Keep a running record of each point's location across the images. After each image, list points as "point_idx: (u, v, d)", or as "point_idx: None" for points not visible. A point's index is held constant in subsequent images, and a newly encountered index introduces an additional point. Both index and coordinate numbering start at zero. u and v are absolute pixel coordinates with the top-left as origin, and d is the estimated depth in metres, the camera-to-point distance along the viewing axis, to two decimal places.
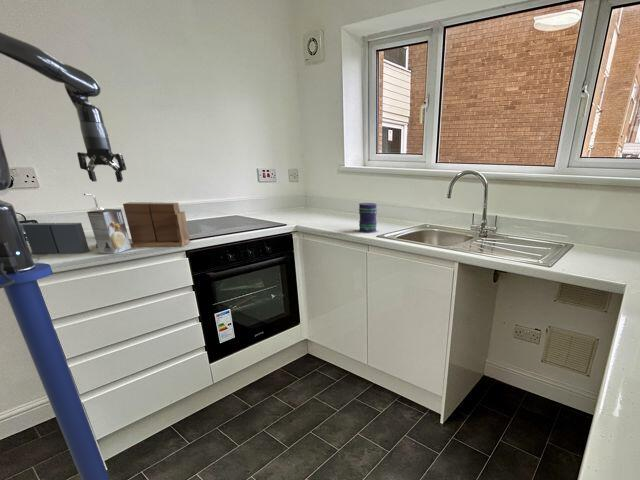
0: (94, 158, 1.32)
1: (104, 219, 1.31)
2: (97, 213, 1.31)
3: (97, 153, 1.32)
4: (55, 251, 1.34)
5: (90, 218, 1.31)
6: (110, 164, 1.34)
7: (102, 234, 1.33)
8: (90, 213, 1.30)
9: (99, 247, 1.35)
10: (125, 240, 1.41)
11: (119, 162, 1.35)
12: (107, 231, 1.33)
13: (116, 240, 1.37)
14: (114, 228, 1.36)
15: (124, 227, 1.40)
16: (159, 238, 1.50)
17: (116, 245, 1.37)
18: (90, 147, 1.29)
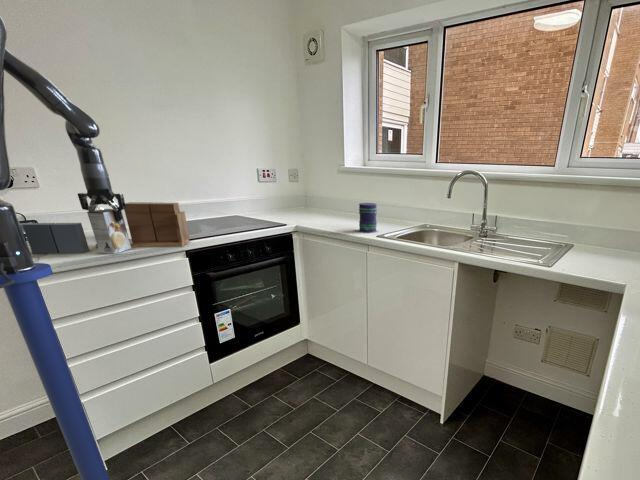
0: (94, 198, 1.31)
1: (104, 219, 1.31)
2: (97, 213, 1.31)
3: (97, 193, 1.31)
4: (55, 251, 1.34)
5: (90, 218, 1.31)
6: (110, 204, 1.33)
7: (102, 234, 1.33)
8: (90, 213, 1.31)
9: (99, 247, 1.35)
10: (125, 240, 1.41)
11: (119, 202, 1.34)
12: (107, 231, 1.33)
13: (116, 240, 1.37)
14: (114, 228, 1.36)
15: (124, 227, 1.40)
16: (159, 238, 1.50)
17: (116, 245, 1.37)
18: (90, 188, 1.28)
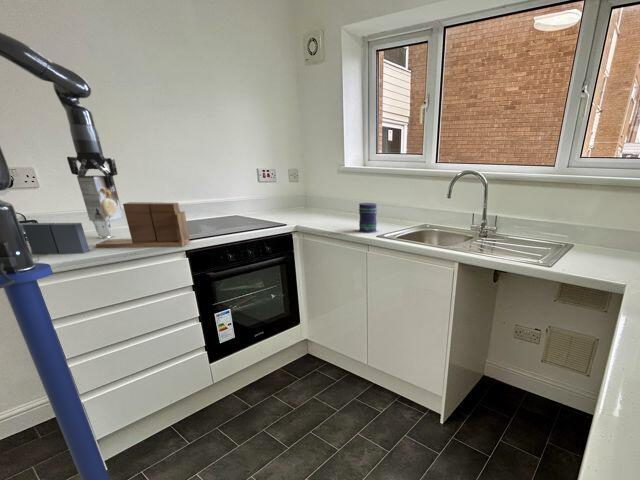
0: (84, 162, 1.26)
1: (94, 183, 1.27)
2: (87, 177, 1.26)
3: (88, 157, 1.27)
4: (55, 251, 1.34)
5: (80, 183, 1.27)
6: (101, 169, 1.28)
7: (93, 200, 1.29)
8: (80, 177, 1.26)
9: (89, 214, 1.31)
10: (116, 208, 1.36)
11: (110, 167, 1.29)
12: (97, 196, 1.28)
13: (107, 207, 1.32)
14: (105, 194, 1.31)
15: (116, 195, 1.36)
16: (159, 238, 1.50)
17: (107, 212, 1.32)
18: (80, 150, 1.23)
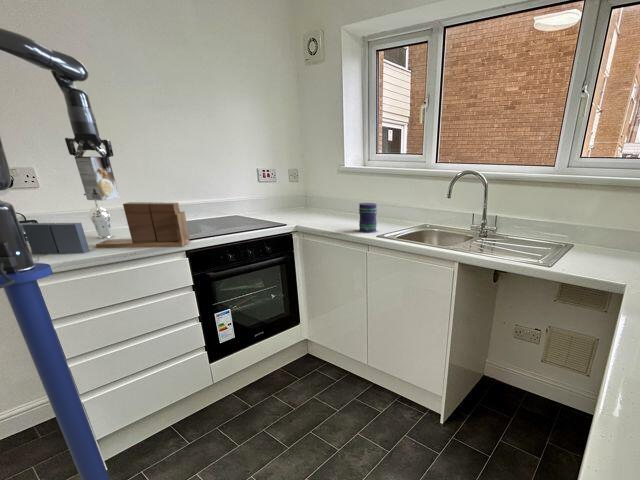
0: (82, 143, 1.32)
1: (91, 164, 1.32)
2: (84, 158, 1.31)
3: (85, 138, 1.32)
4: (55, 251, 1.34)
5: (77, 163, 1.32)
6: (97, 150, 1.34)
7: (90, 180, 1.34)
8: (77, 158, 1.31)
9: (87, 193, 1.36)
10: (113, 189, 1.42)
11: (106, 148, 1.35)
12: (94, 176, 1.34)
13: (104, 187, 1.38)
14: (102, 175, 1.37)
15: (112, 176, 1.41)
16: (159, 238, 1.50)
17: (104, 192, 1.38)
18: (77, 132, 1.29)
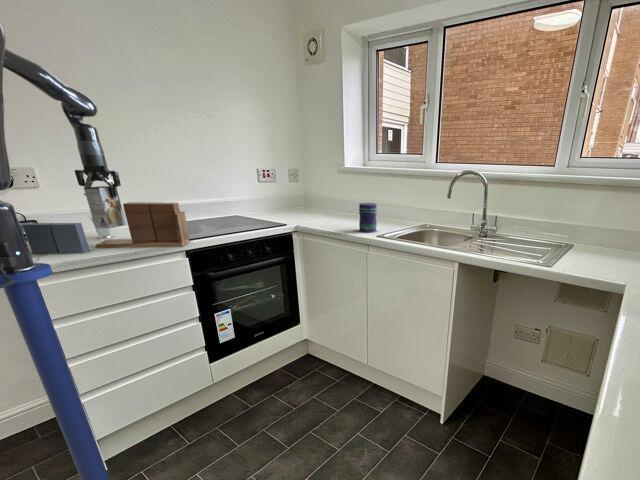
0: (90, 174, 1.38)
1: (100, 194, 1.38)
2: (93, 189, 1.37)
3: (93, 170, 1.38)
4: (55, 251, 1.34)
5: (86, 194, 1.38)
6: (105, 180, 1.40)
7: (98, 209, 1.40)
8: (86, 189, 1.37)
9: (95, 222, 1.42)
10: (120, 216, 1.48)
11: (114, 179, 1.40)
12: (102, 206, 1.40)
13: (111, 216, 1.43)
14: (110, 204, 1.42)
15: (119, 204, 1.47)
16: (159, 238, 1.50)
17: (111, 220, 1.44)
18: (87, 164, 1.35)
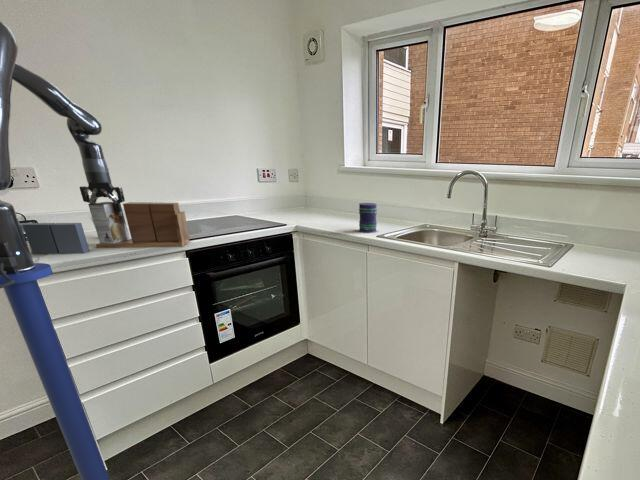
0: (95, 191, 1.40)
1: (104, 210, 1.40)
2: (98, 205, 1.40)
3: (98, 187, 1.40)
4: (55, 251, 1.34)
5: (91, 210, 1.40)
6: (110, 197, 1.42)
7: (102, 225, 1.42)
8: (91, 205, 1.40)
9: (99, 237, 1.44)
10: (124, 231, 1.50)
11: (118, 195, 1.43)
12: (107, 222, 1.42)
13: (115, 231, 1.46)
14: (114, 219, 1.45)
15: (123, 219, 1.49)
16: (159, 238, 1.50)
17: (116, 235, 1.46)
18: (91, 181, 1.37)
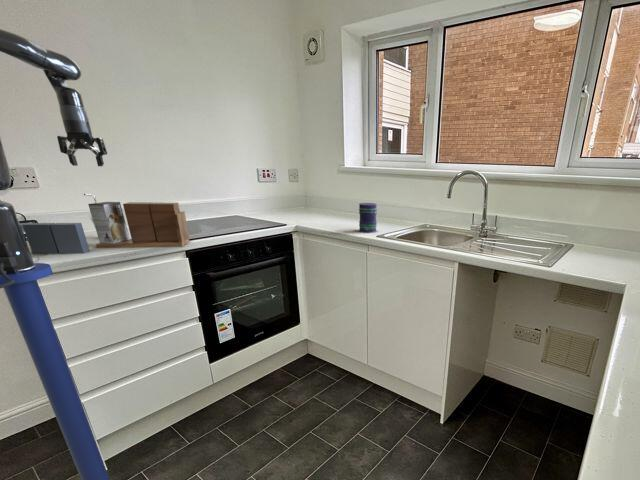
0: (74, 142, 1.32)
1: (104, 210, 1.40)
2: (97, 205, 1.40)
3: (77, 137, 1.32)
4: (55, 251, 1.34)
5: (91, 210, 1.40)
6: (90, 148, 1.34)
7: (102, 225, 1.42)
8: (91, 205, 1.39)
9: (99, 237, 1.44)
10: (124, 231, 1.50)
11: (99, 146, 1.35)
12: (107, 222, 1.42)
13: (115, 231, 1.46)
14: (114, 219, 1.45)
15: (123, 219, 1.49)
16: (159, 238, 1.50)
17: (116, 235, 1.46)
18: (70, 130, 1.29)
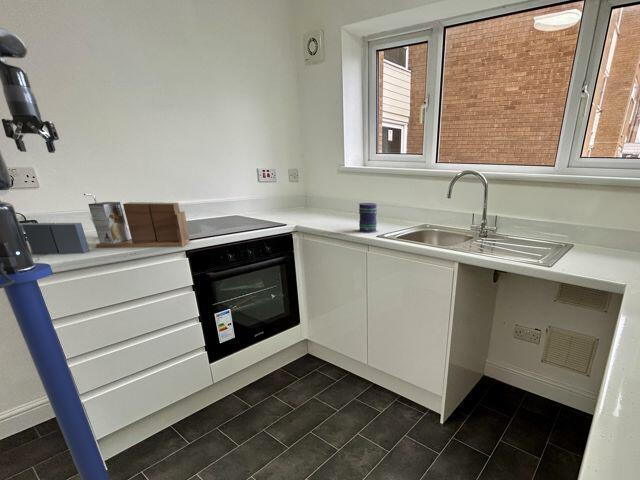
0: (21, 125, 1.22)
1: (104, 210, 1.40)
2: (97, 205, 1.40)
3: (24, 120, 1.22)
4: (55, 251, 1.34)
5: (91, 210, 1.40)
6: (39, 132, 1.24)
7: (102, 225, 1.42)
8: (91, 205, 1.40)
9: (99, 237, 1.44)
10: (124, 231, 1.50)
11: (49, 130, 1.24)
12: (107, 222, 1.42)
13: (115, 231, 1.46)
14: (114, 219, 1.45)
15: (123, 219, 1.49)
16: (159, 238, 1.50)
17: (116, 235, 1.46)
18: (15, 113, 1.19)
